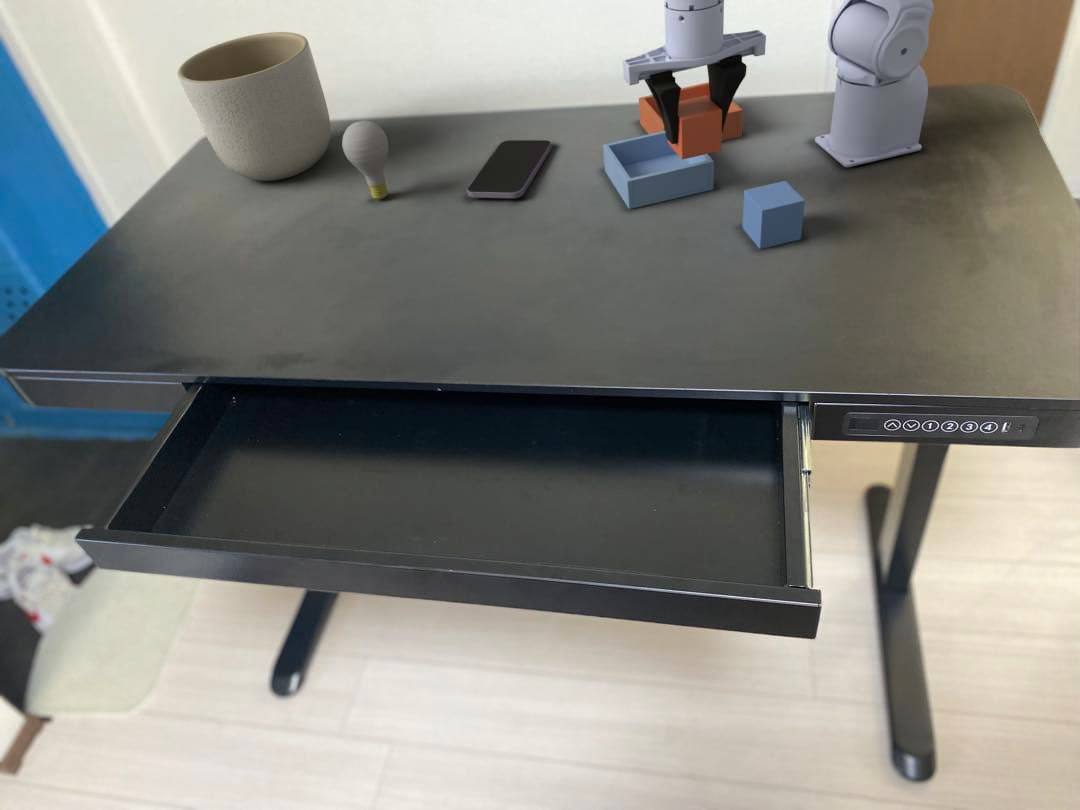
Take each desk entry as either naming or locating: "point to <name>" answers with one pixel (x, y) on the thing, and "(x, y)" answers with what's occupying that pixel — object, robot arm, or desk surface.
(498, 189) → the smartphone
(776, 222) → the slate-blue block
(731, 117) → the terracotta bin
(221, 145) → the planter
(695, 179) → the slate-blue bin
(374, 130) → the light bulb
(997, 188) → the desk surface
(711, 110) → the terracotta block
